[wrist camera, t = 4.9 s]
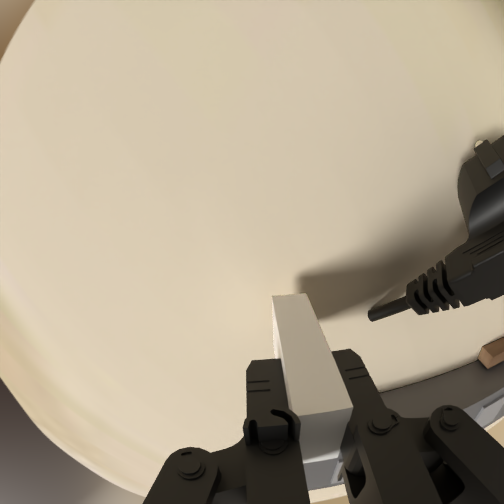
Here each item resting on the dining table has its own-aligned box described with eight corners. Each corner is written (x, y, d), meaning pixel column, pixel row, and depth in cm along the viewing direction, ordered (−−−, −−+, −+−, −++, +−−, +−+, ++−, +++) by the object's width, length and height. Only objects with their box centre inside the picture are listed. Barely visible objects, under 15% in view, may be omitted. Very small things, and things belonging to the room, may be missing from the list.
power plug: (333, 301, 13) (572, 169, 4) (353, 204, 17) (498, 97, 8) (396, 350, 14) (586, 269, 5) (403, 255, 18) (536, 174, 9)
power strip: (294, 408, 16) (305, 464, 12) (532, 332, 16) (557, 354, 12) (292, 451, 18) (299, 497, 14) (512, 376, 18) (532, 399, 14)
